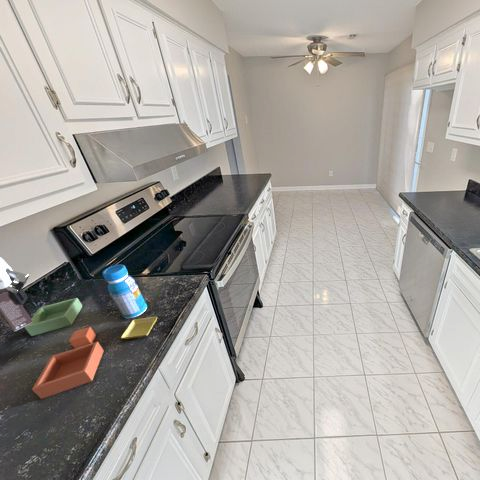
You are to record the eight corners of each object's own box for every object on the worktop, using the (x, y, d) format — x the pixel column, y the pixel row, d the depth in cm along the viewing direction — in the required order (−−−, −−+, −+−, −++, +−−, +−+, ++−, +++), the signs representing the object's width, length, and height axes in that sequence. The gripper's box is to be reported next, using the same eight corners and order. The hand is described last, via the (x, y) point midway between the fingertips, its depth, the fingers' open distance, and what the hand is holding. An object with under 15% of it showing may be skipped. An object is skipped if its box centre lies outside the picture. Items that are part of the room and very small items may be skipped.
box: (35, 321, 77) (11, 289, 72) (14, 332, 73) (-12, 299, 68) (25, 316, 79) (2, 285, 74) (5, 326, 76) (-21, 294, 70)
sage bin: (31, 336, 91) (24, 327, 88) (47, 315, 100) (40, 307, 98) (71, 325, 95) (65, 316, 92) (82, 306, 104) (77, 297, 102)
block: (75, 350, 84) (68, 340, 82) (80, 340, 88) (74, 331, 85) (92, 345, 85) (85, 335, 83) (96, 335, 89) (90, 326, 87)
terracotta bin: (41, 399, 69) (31, 389, 67) (59, 365, 79) (51, 355, 77) (92, 381, 73) (84, 371, 71) (104, 351, 83) (97, 341, 81)
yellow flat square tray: (159, 320, 94) (157, 315, 93) (149, 338, 86) (146, 334, 85) (135, 323, 93) (132, 319, 92) (122, 342, 86) (119, 338, 85)
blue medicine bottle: (127, 322, 94) (102, 279, 85) (119, 313, 98) (95, 271, 89) (151, 309, 100) (131, 267, 90) (143, 301, 104) (122, 260, 95)
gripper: (-100, 268, 59) (-46, 324, 67) (1, 250, 65) (39, 304, 73) (-72, 254, 65) (-26, 307, 73) (17, 239, 71) (50, 289, 79)
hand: (6, 305), depth 73 cm, fingers closed on box, 6 cm apart
